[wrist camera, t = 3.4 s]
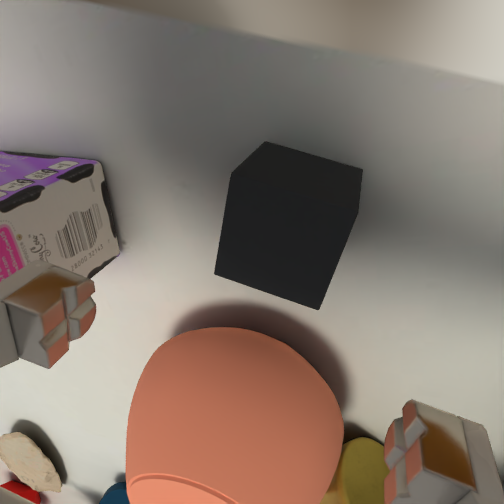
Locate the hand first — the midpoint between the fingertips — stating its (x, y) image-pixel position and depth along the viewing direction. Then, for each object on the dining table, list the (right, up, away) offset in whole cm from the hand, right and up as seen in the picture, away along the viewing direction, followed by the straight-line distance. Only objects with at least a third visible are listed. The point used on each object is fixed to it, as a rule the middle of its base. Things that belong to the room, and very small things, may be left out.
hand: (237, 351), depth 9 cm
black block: (+3, +5, +8) cm, 10 cm away
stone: (-24, -20, +32) cm, 45 cm away
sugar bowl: (+1, -7, +15) cm, 17 cm away
